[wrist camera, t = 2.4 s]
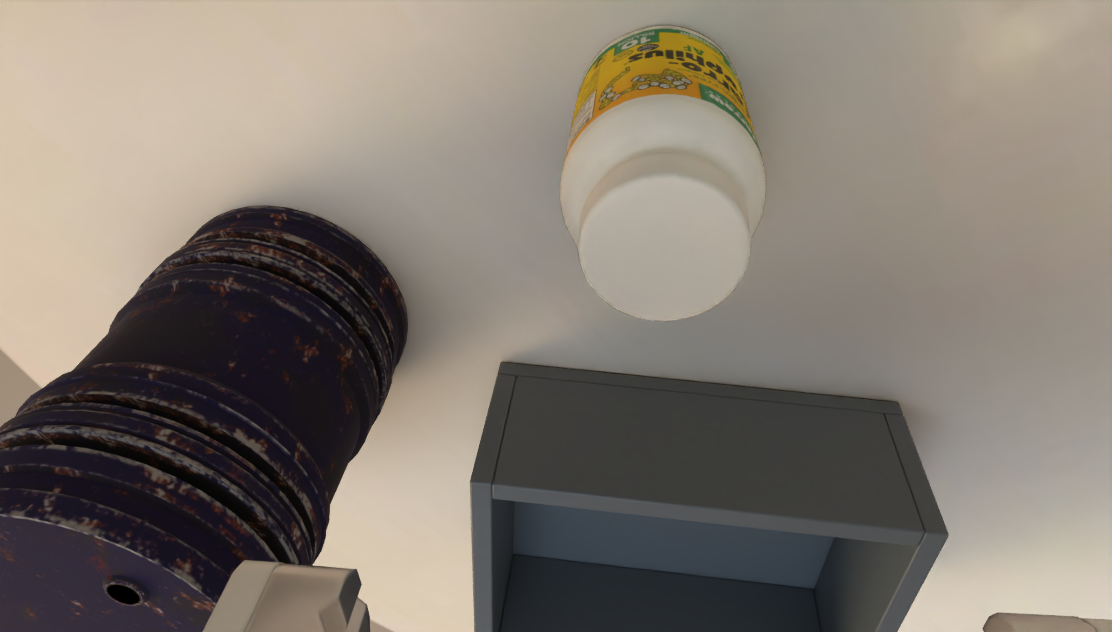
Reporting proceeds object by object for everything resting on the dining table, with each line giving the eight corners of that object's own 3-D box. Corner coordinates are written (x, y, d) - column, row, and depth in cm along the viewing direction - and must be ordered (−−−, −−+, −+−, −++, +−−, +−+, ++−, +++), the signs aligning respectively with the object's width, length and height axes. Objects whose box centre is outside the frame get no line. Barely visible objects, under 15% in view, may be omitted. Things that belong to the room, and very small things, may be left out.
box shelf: (898, 401, 32) (949, 535, 26) (823, 585, 39) (850, 720, 34) (500, 361, 33) (469, 482, 27) (499, 548, 40) (475, 673, 35)
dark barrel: (327, 430, 36) (164, 763, 24) (138, 304, 33) (-161, 616, 21) (458, 314, 32) (336, 657, 19) (252, 152, 28) (-50, 444, 16)
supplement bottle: (556, 146, 27) (515, 302, 19) (614, -7, 24) (593, 106, 16) (698, 199, 27) (715, 372, 20) (773, 58, 24) (827, 196, 17)
